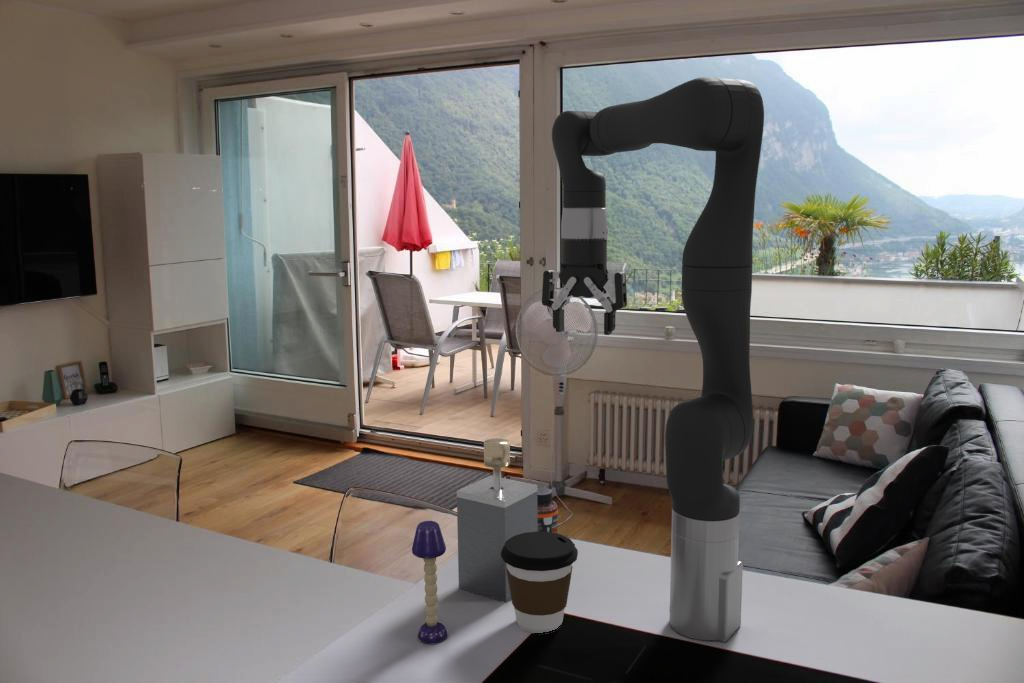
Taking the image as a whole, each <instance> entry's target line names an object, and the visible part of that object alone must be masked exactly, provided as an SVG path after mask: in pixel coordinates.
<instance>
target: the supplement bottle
mask: <svg viewBox="0 0 1024 683" xmlns="http://www.w3.org/2000/svg"><path fill="white" fill-rule="evenodd" d="M537 509H538V532H551V533H556V534H559V530H558V529H559V521H558V520H559V513H558V512H559V507H558V504H557V503H556V502H555V501H554V500H553V490H552V489H550V488H549V487H537Z"/></svg>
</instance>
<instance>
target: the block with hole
mask: <svg viewBox="0 0 1024 683" xmlns="http://www.w3.org/2000/svg"><path fill="white" fill-rule="evenodd" d="M537 488H538V484H534V483H529V482H523V481H519V480H514V479H509V478H506V477H501V490H500V491H498V490H494V483H493V475H489V476H487V477H485V478H482V479H479V480H478V481H475V482H473V483H471V484H469V485H467V486H464V487H462V488H460V489H457V490H456V514H457V515H456V516H457V518H456V520H457V521H456V522H457V558H458V559H457V562H458V564H457V565H458V567H457V568H458V569H457V570H458V589H459V588H461V589H460V590H462V589H465V590H464V591H466V590H468V591H467V592H469V591H470V592H469V593H472V592H473V594H476V595H479V594H480V595H479V596H483V597H486V598H489V599H493V600H496V601H499V602H502V601H503V603H505V602H506V603H508V602H510V599H511V594H510V588H509V582H508V576H507V570H506V568H507V564H506V563H505V562H504V561H503V559H502V557H501V551H502V548H503V546H504V545H505V542H506V541H507V540H508V539H510V538H511V537H513V536H515V535H518V534H522V533H527V532H538V509H537ZM511 600H512V599H511ZM507 601H508V602H507Z"/></svg>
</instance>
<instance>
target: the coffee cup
mask: <svg viewBox="0 0 1024 683" xmlns="http://www.w3.org/2000/svg"><path fill="white" fill-rule="evenodd" d="M578 551H579V550H578V548H577V547H576V545H575V543H574V542H573V541H572V539H571V538H569V537H567V536H565V535H563V534H561V533H558V534H556V533H551V532H527V533H522V534H518V535H515V536H513V537H511V538H510V539H508V540H507V541H506V542H505V545H504V546H503V548H502V551H501V557H502V559H503V561H504V562H505V563H506V564H507V568H506V570H507V576H508V582H509V588H510V594H511V604H512V606H513V609H514V615H515V620H516V621H517V623H518V625H519V628H520V629H522V630H523V631H524V632H525V633H526V632H527V633H531V634H534V633H543V632H549V631H552V630H555V629H557V628H558V627H559V626H560V625H561V626H562V623H563V620H564V615H565V609H566V607H567V604H568V597H569V591H570V584H571V580H572V573H573V563H575V562H576V561H577V559H578V554H579V552H578ZM561 626H560V627H561ZM560 627H559V628H560ZM559 628H558V629H559ZM558 629H557V630H558Z"/></svg>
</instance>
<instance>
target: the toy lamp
mask: <svg viewBox="0 0 1024 683" xmlns="http://www.w3.org/2000/svg"><path fill="white" fill-rule="evenodd" d="M445 552H447V547H446V542H445V539H444V536H443V533H442V529H441V527H440V524H439V523H438V522H437V521H434V520H426V521H425V520H424V521H422V522H418V524H417V525H416V529H415V533H414V538H413V542H412V547H411V553H412V554H413V556H414V557H416V558H420V559H423V562H424V564H423V571H424V575H423V576H424V579H423V580H424V583H425V584H424V592H425V596H424V602H425V608H424V610H425V614H426V616H425V623H423V624H422V625H420V627H419V629H418V631H417V639H418V640H419V642H422V643H423V644H429V645H430V644H431V645H432V644H440V643H441V642H444V641H446V640H447V638H448V637H449V632H448V628H447V627H446V625H444V624H443V623H442V622H441V621H439V615H438V611H439V606H438V599H439V598H438V593H437V592H438V589H439V588H438V583H437V581H438V574H437V573H436V572H437V569H438V568H437V567H438V566H437V563H436V561H437V558H439V557H442V556H443V555H445Z"/></svg>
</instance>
